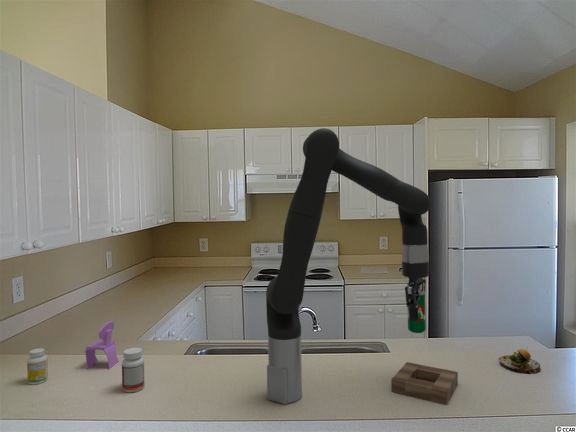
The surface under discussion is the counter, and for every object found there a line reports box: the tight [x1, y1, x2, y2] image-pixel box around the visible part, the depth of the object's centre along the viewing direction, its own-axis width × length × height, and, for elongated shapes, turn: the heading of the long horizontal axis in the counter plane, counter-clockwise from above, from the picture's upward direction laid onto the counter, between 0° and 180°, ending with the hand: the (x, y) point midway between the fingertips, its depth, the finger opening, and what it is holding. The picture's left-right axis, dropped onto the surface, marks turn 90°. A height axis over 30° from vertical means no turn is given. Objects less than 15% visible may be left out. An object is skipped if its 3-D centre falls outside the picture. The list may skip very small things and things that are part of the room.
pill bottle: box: [121, 347, 145, 393], centre depth 122 cm, size 6×6×11 cm
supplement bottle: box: [26, 347, 49, 385], centre depth 128 cm, size 5×5×10 cm
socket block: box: [390, 361, 459, 406], centre depth 120 cm, size 15×15×4 cm
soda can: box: [406, 290, 427, 334], centre depth 120 cm, size 5×5×12 cm
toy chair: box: [84, 320, 120, 370], centre depth 140 cm, size 8×9×15 cm
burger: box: [498, 348, 541, 375], centre depth 134 cm, size 12×12×8 cm
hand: (416, 317), depth 120 cm, fingers closed on soda can, 5 cm apart
